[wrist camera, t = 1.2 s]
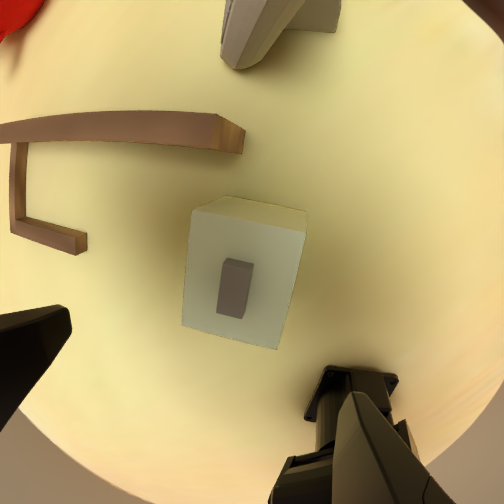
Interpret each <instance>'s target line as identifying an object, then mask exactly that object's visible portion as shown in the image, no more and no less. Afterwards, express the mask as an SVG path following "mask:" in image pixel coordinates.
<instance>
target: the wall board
mask: <svg viewBox="0 0 504 504" xmlns="http://www.w3.org/2000/svg"><path fill="white" fill-rule="evenodd" d="M244 137H245V130H244V129H242V128H240V127H239V126H237V125H235V124H233V123H232V122H230V121H228V120H226V119H225V118H223V117H221V116H219V115H218V114H210V113H197V112H180V111H102V112H85V113H73V114H63V115H54V116H46V117H39V118H32V119H26V120H20V121H15V122H9V123H4V124H0V144H6V143H11V155H10V172H9V214H10V231H11V233H13V234H16V235H19V236H21V237H24V238H27V239H29V240H32V241H35V242H38V243H40V244H43V245H46V246H49V247H52V248H54V249H57V250H60V251H63V252H66V253H69V254H72V255H75V256H76V255H78V254H80V253H83V252H85V251H87V233H84V232H80V231H76V230H73V229H69V228H65V227H61V226H58V225H54V224H50V223H47V222H43V221H39V220H36V219H32V218H29V217H26V212H25V184H26V162H27V149H28V142H42V141H113V142H134V143H149V144H162V145H173V146H183V147H193V148H201V149H210V150H217V151H225V152H232V153H238V154H242V148H243V142H244Z"/></svg>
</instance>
